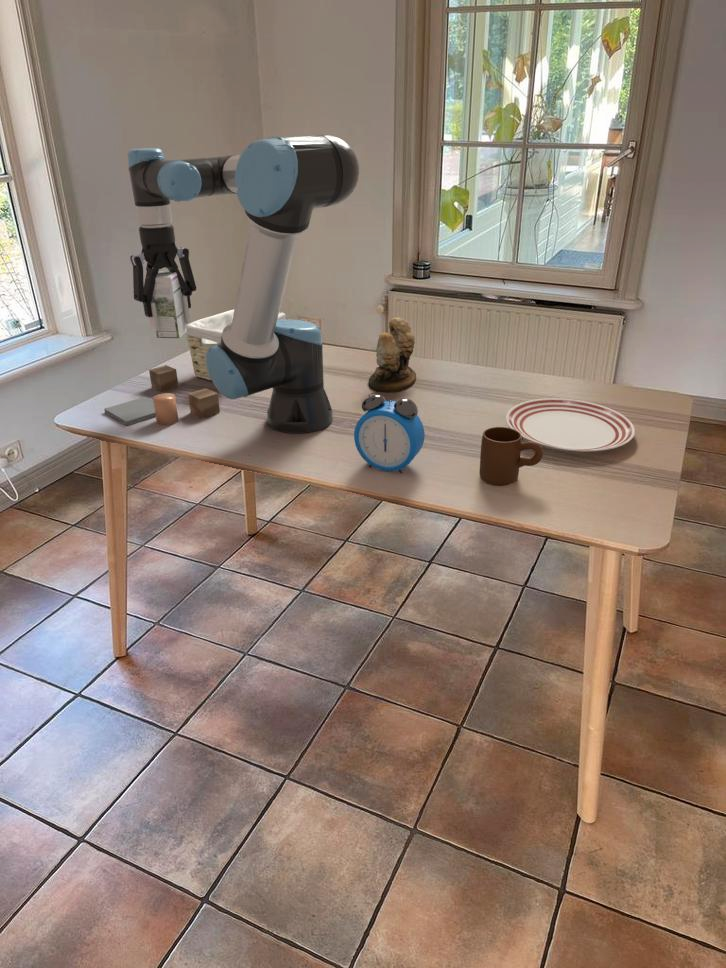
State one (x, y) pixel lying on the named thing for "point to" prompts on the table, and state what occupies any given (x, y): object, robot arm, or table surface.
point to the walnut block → (204, 403)
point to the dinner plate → (570, 425)
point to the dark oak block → (164, 378)
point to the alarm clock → (389, 432)
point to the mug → (505, 455)
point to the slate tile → (133, 411)
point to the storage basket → (208, 338)
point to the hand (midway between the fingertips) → (170, 326)
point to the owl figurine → (394, 358)
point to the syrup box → (169, 306)
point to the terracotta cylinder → (165, 409)
